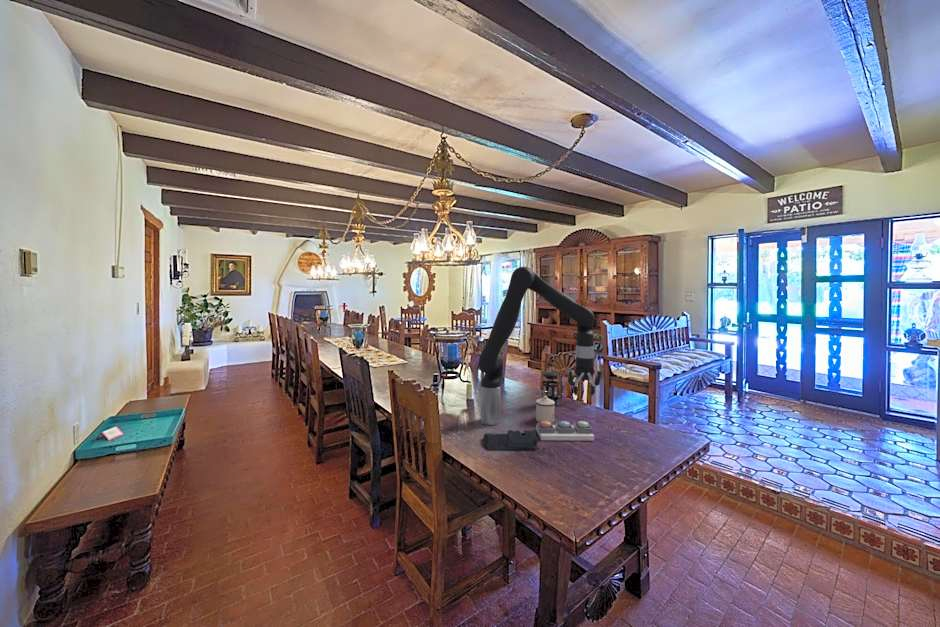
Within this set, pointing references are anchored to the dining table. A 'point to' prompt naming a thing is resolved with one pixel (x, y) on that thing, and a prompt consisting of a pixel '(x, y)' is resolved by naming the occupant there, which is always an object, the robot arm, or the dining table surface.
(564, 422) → the slate button
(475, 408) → the dining table surface
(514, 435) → the dark slate chunk
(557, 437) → the button panel
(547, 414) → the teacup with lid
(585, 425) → the sage button
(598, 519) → the dining table surface
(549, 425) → the terracotta button
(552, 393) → the french press
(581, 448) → the dining table surface
